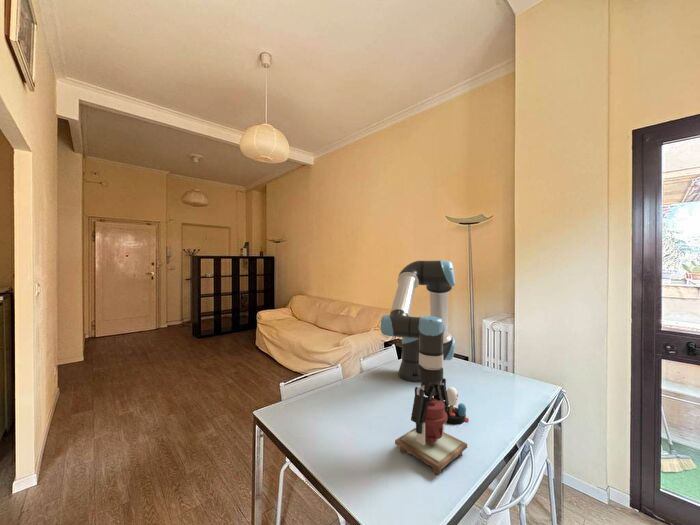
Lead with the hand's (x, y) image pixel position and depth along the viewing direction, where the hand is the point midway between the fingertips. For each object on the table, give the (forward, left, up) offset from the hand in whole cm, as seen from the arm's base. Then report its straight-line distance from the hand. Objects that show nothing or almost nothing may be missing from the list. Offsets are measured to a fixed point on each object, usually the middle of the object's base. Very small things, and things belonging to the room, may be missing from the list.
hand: (430, 435), depth 92 cm
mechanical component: (0, 0, -1) cm, 1 cm away
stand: (0, 0, -5) cm, 5 cm away
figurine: (-24, -6, -5) cm, 25 cm away
